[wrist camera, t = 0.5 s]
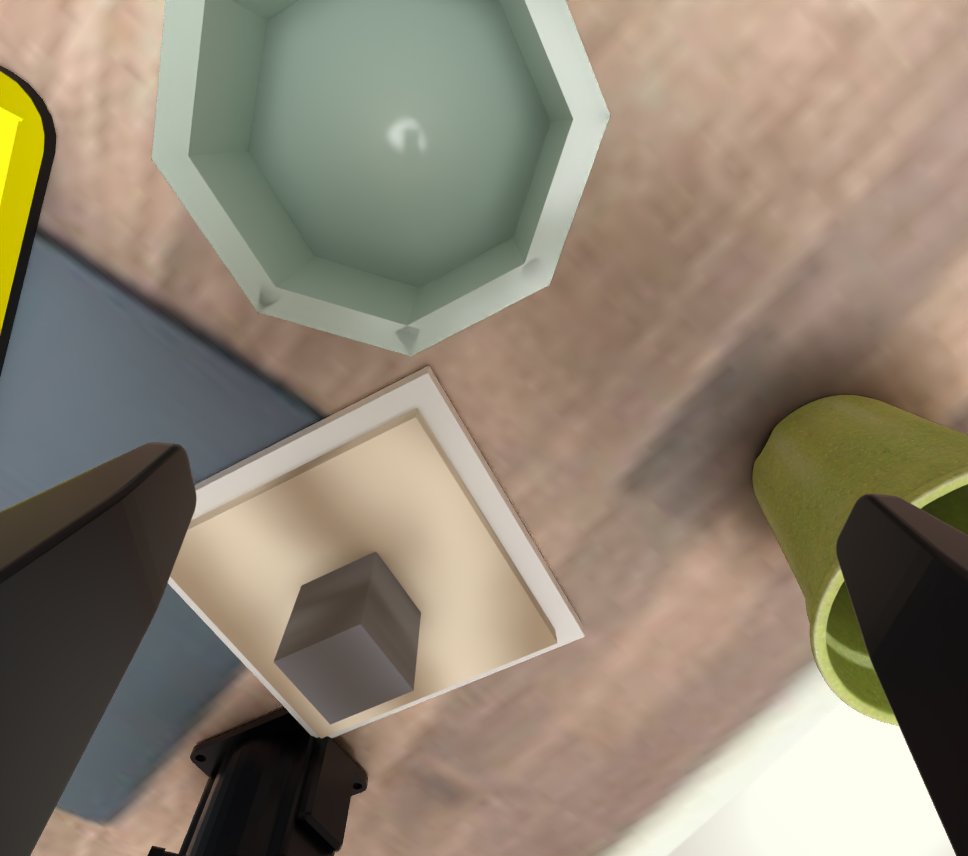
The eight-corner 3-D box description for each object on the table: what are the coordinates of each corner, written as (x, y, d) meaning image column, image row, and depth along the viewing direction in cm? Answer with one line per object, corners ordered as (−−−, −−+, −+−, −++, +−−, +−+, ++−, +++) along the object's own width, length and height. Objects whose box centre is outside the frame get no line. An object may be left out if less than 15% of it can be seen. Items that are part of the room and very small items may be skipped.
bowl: (352, 344, 22) (320, 404, 18) (168, 56, 19) (60, 29, 14) (610, 207, 21) (655, 231, 16) (467, -142, 17) (467, -258, 12)
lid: (324, 723, 30) (300, 825, 25) (155, 538, 25) (89, 624, 21) (555, 629, 27) (571, 723, 23) (417, 407, 23) (406, 472, 18)
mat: (322, 729, 31) (318, 743, 30) (128, 518, 25) (118, 530, 25) (582, 623, 28) (585, 636, 28) (429, 365, 23) (427, 372, 22)
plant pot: (673, 421, 24) (772, 560, 16) (918, 303, 22) (1161, 395, 15) (750, 588, 28) (862, 767, 20) (966, 497, 26) (1182, 655, 18)
